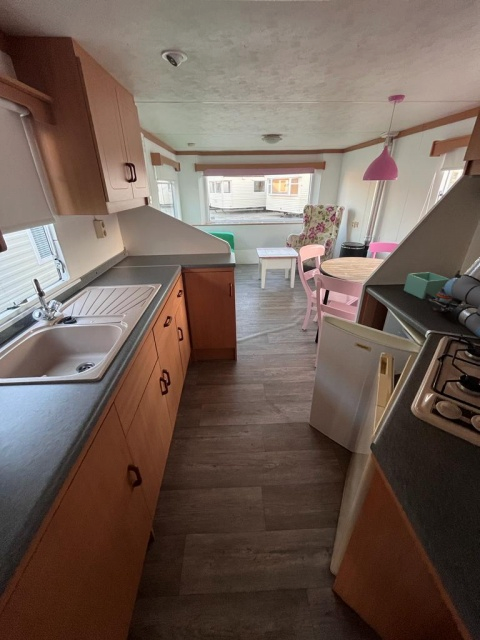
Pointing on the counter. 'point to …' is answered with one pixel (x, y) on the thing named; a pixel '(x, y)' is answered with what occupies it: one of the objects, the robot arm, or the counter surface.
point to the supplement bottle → (443, 298)
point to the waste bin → (424, 284)
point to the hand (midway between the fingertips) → (439, 295)
